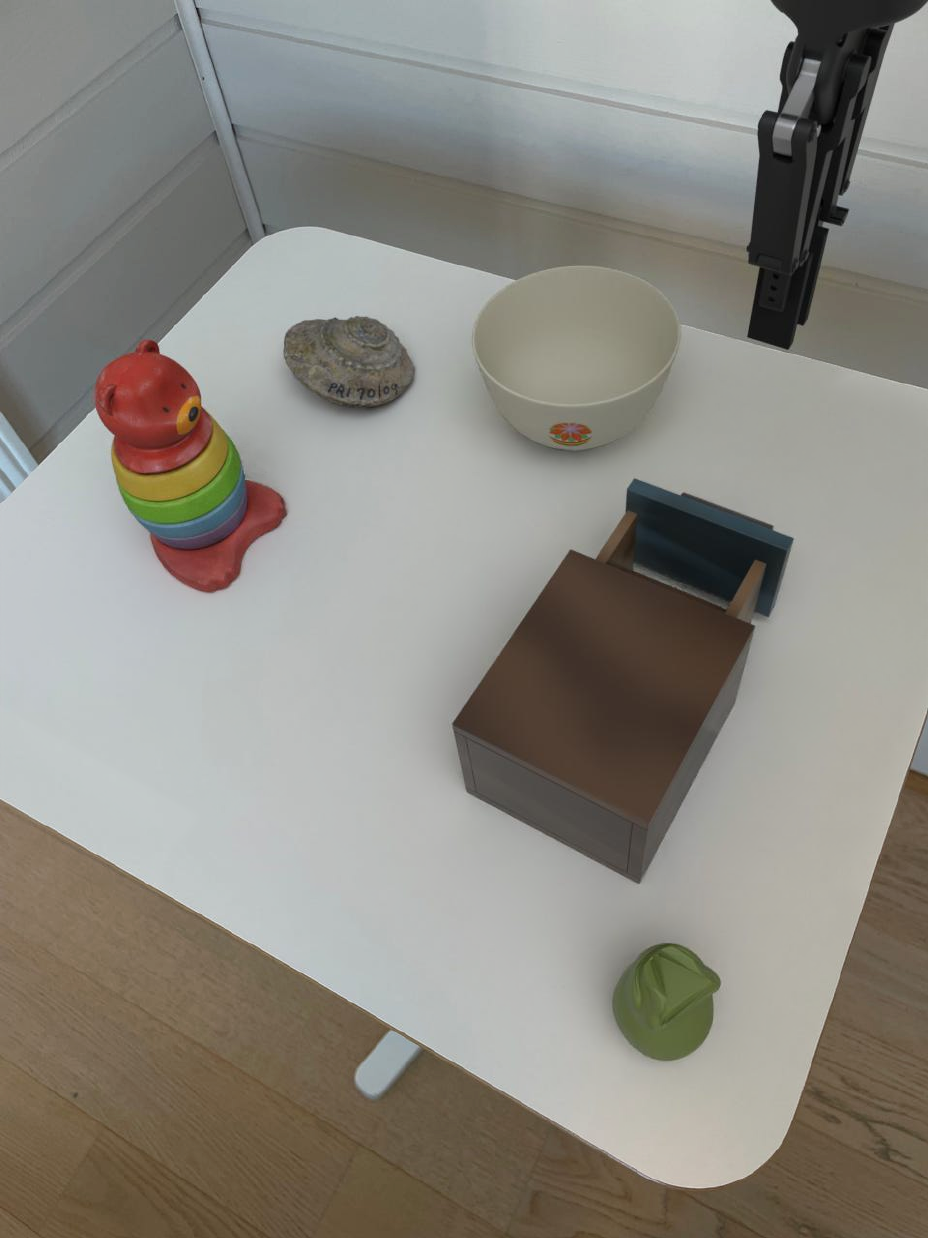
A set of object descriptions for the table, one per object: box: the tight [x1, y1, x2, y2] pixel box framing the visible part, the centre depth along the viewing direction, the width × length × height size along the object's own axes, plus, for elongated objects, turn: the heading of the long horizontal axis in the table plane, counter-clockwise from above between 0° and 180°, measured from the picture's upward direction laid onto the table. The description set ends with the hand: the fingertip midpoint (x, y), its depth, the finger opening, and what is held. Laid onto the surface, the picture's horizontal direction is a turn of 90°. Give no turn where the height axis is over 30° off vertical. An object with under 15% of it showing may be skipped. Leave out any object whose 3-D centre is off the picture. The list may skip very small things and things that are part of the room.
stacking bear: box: [93, 339, 288, 593], centre depth 75 cm, size 11×10×18 cm
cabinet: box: [451, 549, 756, 885], centre depth 65 cm, size 15×13×10 cm
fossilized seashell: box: [282, 315, 416, 408], centre depth 90 cm, size 11×11×7 cm
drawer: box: [595, 477, 795, 624], centre depth 69 cm, size 18×12×8 cm, turn 148°
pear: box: [612, 942, 722, 1062], centre depth 54 cm, size 6×5×10 cm
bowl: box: [471, 265, 682, 452], centre depth 81 cm, size 16×16×10 cm
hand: (777, 327), depth 63 cm, fingers closed
